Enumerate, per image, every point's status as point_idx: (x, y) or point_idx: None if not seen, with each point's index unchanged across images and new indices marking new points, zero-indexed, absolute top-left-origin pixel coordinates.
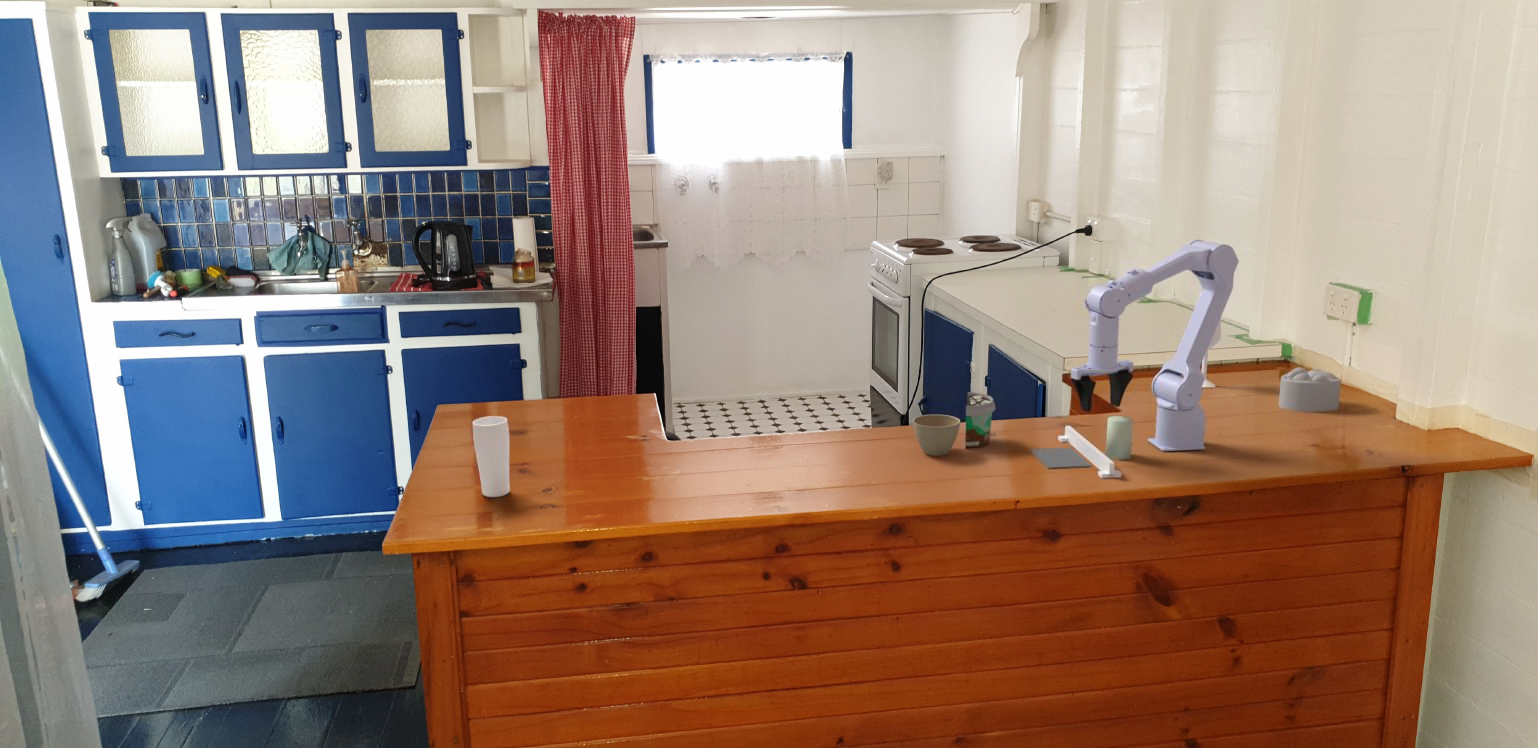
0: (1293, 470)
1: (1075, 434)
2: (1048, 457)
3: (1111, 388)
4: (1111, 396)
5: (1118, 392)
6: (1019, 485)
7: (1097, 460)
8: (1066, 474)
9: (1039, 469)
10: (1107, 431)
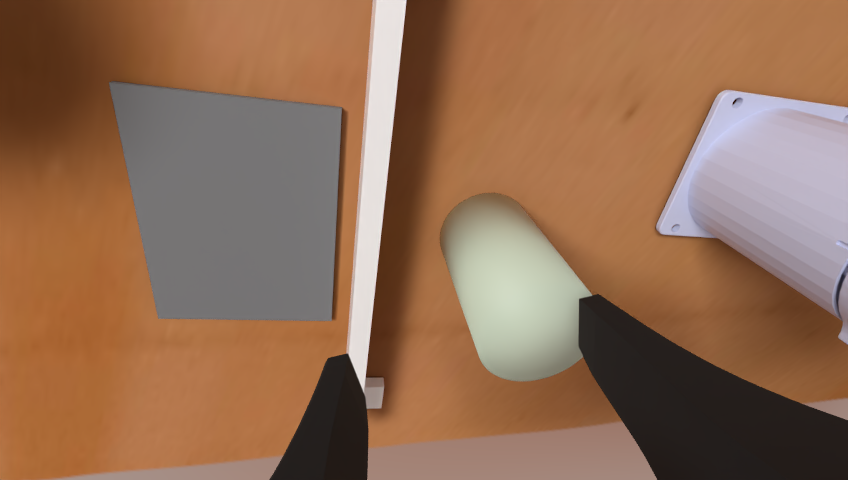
0: (790, 394)
1: (368, 112)
2: (185, 218)
3: (657, 384)
4: (611, 341)
5: (639, 430)
6: (24, 425)
7: (348, 343)
8: (217, 363)
9: (123, 313)
10: (464, 288)
